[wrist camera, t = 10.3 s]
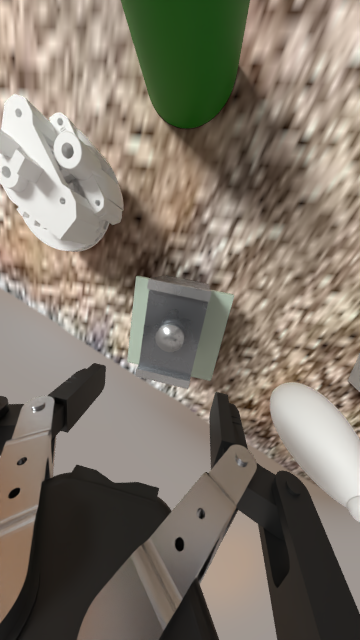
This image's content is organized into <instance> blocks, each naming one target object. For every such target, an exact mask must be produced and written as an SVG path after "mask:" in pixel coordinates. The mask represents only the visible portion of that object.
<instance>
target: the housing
mask: <svg viewBox="0 0 360 640" xmlns="http://www.w3.org/2000/svg"><path fill="white" fill-rule="evenodd" d="M147 289H149V294H148V301H147V308H146V316H145V323H144V330H143V338H142V345H141V352H140V360H139V366H138V367H137V369H136V376H137V377H141V378H145V379H149V380H154V381H158V382H162V383H166V384H170V385H174V386H178V387H182V388H187V389H188V387H189V383H190V377H191V373H192V368H193V364H194V360H195V356H196V352H197V348H198V344H199V340H200V335H201V331H202V327H203V323H204V319H205V315H206V311H207V307H208V302H209V301H210V297H211V293H212V291H211V289H210V287H209V284H206V283H201V282H197V281H192V280H187V279H182V278H177V277H172V276H161V277H155V278H150V279H148V286H147Z"/></svg>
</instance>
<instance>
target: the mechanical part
mask: <svg viewBox="0 0 360 640" xmlns="http://www.w3.org/2000/svg"><path fill="white" fill-rule="evenodd" d="M49 119H50V121H51V122H50V121H49V120H48V119H47V118H46V117H44V116H43V115H42V114H41V113H40V112H39V111H38V110H37V109H36V108H35V107H34V106H33V105H32V104H31V103H30V102H29V101H28V100H27V99H26V98H24V97H22V96H19V95H16V94H13V95H12V96H11V97H10V98H9V99H8V100H6V101H5V105H4V113H3V120H2V127H1V129H0V184H2V186H3V188H4V189H5V191H6V193H7V195H8V197H9V198H10V200H11V201H12V202H13V203H15V204H16V205H18V206H19V208H17V211H18V212H19V213H20V214H21V216H22V217H23V219H24V221H25V222H26V224H27V225H28V227H29V229H30V230H31V231H32V232H33V233H34V234H35V236H36V237H37V238H39V239H40V240H41V241H42V242H44V243H45V244H47V245H49V246H51V247H52V248H56V249H59V250H64V251H72V252H78V251H84V250H87V249H89V248H91V247H93V246H94V245H96V244H97V243H98V242H99V241H100V240H101V239H102V238H103V236H104V234H105V233H106V231H107V229H108V226H109V223H110V224H112V225H115V224H117V223H120V222H121V219H122V211H124V203H123V197H122V193H121V190H120V187H119V184H118V181H117V179H116V176H115V174H114V172H113V170H112V168H111V166H110V165H109V163H108V162H107V160H106V159H105V158H104V157H103V155H102V154H101V153H100V152H99V151H98V150H97V148H96V147H95V146H94V145H93V144H92V143H91V142H90V140H89V139H88V138H87V137H86V136H85V135H84V134H83V133H82V132H81V131H80V130H78V129H77V128H76V127H75V126H74V124H73V123H72V122H71V121H70V120H69V119H68V118H67V117H66V116H65V115H63V114H62V113H61V112H59V113H55V114H54V115H53V116H51V117H50V118H49Z"/></svg>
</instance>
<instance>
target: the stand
mask: <svg viewBox="0 0 360 640" xmlns="http://www.w3.org/2000/svg"><path fill="white" fill-rule="evenodd" d="M148 279H150V278H147V277H142V276H136V282H135V292H134V302H133V311H132V321H131V331H130V341H129V350H128V360H127V362H130V363H134V364H138V365H139V360H140V352H141V345H142V338H143V330H144V323H145V316H146V308H147V301H148V294H149V289H147V286H148ZM211 291H212V293H211V297H210V301H209V302H208V307H207V311H206V315H205V319H204V323H203V327H202V331H201V335H200V340H199V344H198V348H197V352H196V356H195V360H194V364H193V368H192V373H191V377H195V378H199V379H204V380H208V381H211V379H212V375H213V371H214V368H215V364H216V360H217V357H218V353H219V349H220V346H221V342H222V339H223V335H224V331H225V328H226V324H227V320H228V317H229V313H230V309H231V306H232V302H233V298H234V295H233V294H229V293H224V292H219V291H214V290H211Z"/></svg>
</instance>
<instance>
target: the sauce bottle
mask: <svg viewBox="0 0 360 640" xmlns="http://www.w3.org/2000/svg"><path fill="white" fill-rule="evenodd" d="M270 412H271V417H272V420H273V423H274V426H275V428H276V430H277V432H278V434H279V437H280V438H281V440H282V442H283V444H284V445H285V447H286V448H287V450H288V451H289V453H290V454H291V455H292V457H293V458H294V459H295V461H296V462H297V463H298V464H299V466H300V467H301V468H302V469H303V470H304V472H305V473H306V474H307V475H308V476H309V477H310V478H311V479H312V480H313V481H314V482H315V483H316V484H317V485H318V486H319V487H320V488H321V489H322V490H323V491H325V492H326V493H327V494H328V495H329V496H330V497H332V498H333V499H334V500H335V501H337V502H338V503H339V504H341V505H343V506H344V507H346V508H347V509H348V511H349V513H350V514H351V516H352V517H353V518H354V519H355V520H356V521H358V522H359V523H360V439H359V437H358V436H357V434H356V433H355V431H354V429H353V428H352V426H351V425H350V423H349V422H348V421H347V419H346V418H345V417H344V415H343V414H342V413H341V412H340V411H339V410H338V409H337V408H336V407H335V406H334V405H333V404H332V403H331V402H330V401H329V400H328V399H327V398H326V397H325V396H323V395H322V394H321V393H319V392H318V391H316V390H314V389H313V388H311V387H309V386H306V385H304V384H301V383H296V382H288V383H284V384H281V385H279V386H278V387H276V388H275V389H274V390H273V392H272V394H271V398H270Z"/></svg>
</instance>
